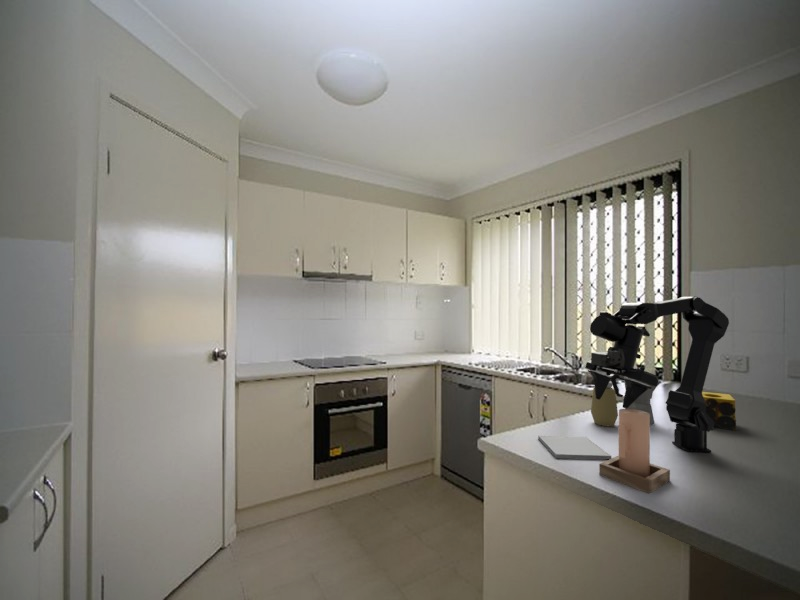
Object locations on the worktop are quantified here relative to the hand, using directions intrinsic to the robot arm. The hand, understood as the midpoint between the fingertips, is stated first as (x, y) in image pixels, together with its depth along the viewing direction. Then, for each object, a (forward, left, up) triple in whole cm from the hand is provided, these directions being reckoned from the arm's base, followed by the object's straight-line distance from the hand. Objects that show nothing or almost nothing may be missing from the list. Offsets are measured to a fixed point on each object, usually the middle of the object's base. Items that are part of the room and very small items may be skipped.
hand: (610, 403), depth 98 cm
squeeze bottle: (-12, -27, -14) cm, 33 cm away
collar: (+1, +13, -14) cm, 19 cm away
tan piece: (+2, +14, -14) cm, 20 cm away
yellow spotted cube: (-50, -30, -14) cm, 60 cm away
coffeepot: (-25, -32, -14) cm, 43 cm away
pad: (+8, -4, -14) cm, 17 cm away
